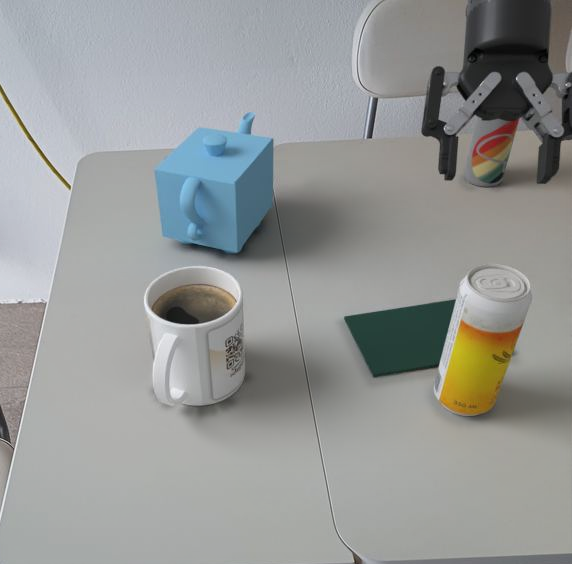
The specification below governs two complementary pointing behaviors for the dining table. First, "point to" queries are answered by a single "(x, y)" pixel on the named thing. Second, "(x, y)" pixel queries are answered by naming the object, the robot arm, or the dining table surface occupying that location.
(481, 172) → the lotion bottle
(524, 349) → the dining table surface
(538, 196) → the dining table surface
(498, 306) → the beer can
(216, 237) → the teapot
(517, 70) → the robot arm
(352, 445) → the dining table surface
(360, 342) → the cloth
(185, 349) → the mug
